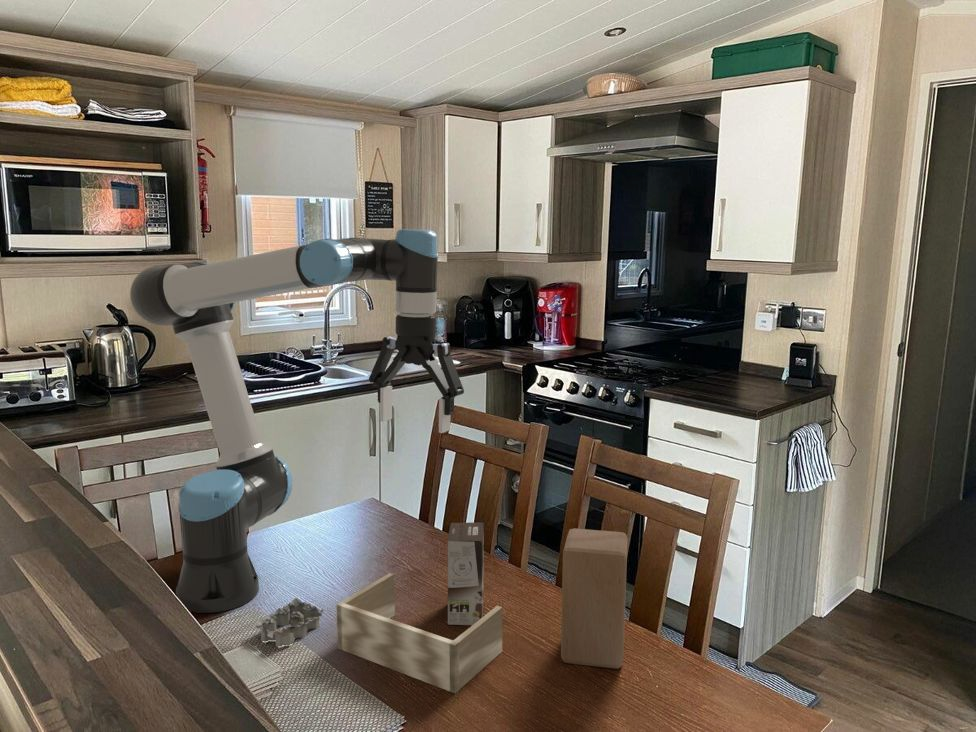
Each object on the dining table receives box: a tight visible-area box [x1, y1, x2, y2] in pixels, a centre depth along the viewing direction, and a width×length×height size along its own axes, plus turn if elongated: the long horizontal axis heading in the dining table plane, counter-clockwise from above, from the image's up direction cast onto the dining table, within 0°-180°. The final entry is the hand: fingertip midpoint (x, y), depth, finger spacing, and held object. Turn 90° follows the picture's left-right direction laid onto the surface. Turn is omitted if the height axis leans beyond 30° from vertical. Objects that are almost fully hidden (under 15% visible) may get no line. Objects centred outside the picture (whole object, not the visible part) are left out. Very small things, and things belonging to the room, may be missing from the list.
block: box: [560, 528, 628, 670], centre depth 126 cm, size 10×10×20 cm
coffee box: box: [446, 521, 485, 626], centre depth 139 cm, size 9×6×16 cm
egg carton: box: [255, 597, 325, 646], centre depth 134 cm, size 11×8×4 cm
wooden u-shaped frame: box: [336, 572, 503, 694], centre depth 127 cm, size 24×14×8 cm, turn 58°
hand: (414, 425), depth 144 cm, fingers open, 13 cm apart
